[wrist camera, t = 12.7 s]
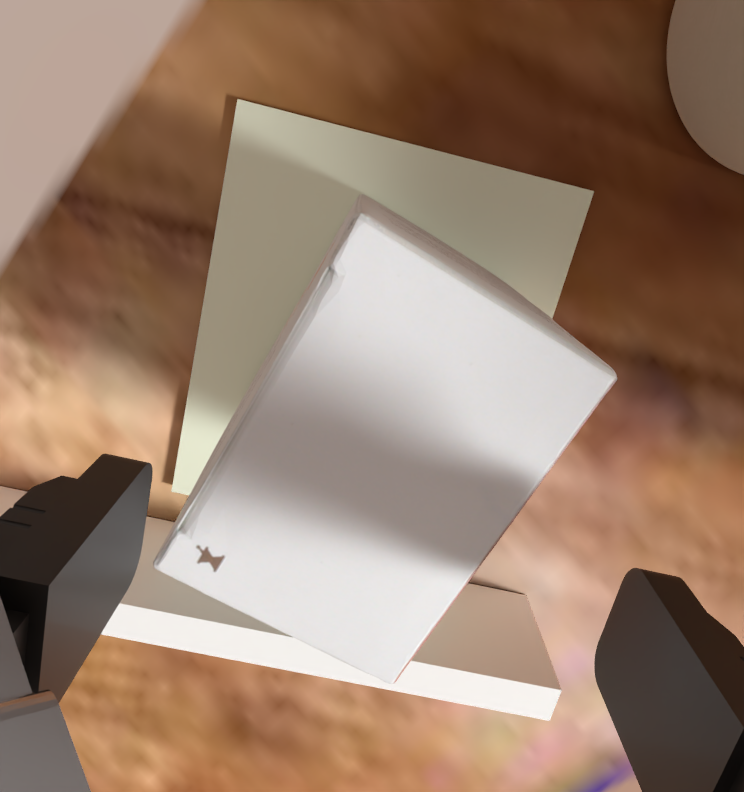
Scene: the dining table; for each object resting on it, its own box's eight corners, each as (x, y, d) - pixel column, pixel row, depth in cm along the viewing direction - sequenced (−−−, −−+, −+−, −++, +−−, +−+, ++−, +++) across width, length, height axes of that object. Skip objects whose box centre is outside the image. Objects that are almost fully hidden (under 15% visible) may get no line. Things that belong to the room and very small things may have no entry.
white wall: (526, 595, 26) (561, 690, 22) (516, 621, 27) (549, 720, 22) (-16, 482, 25) (-107, 558, 20) (-18, 512, 25) (-108, 594, 20)
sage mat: (590, 190, 22) (594, 191, 21) (472, 549, 26) (474, 555, 25) (240, 100, 21) (237, 98, 20) (174, 486, 25) (171, 491, 24)
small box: (380, 479, 24) (391, 700, 14) (237, 400, 23) (141, 578, 13) (512, 281, 22) (632, 378, 12) (361, 186, 21) (357, 206, 11)
